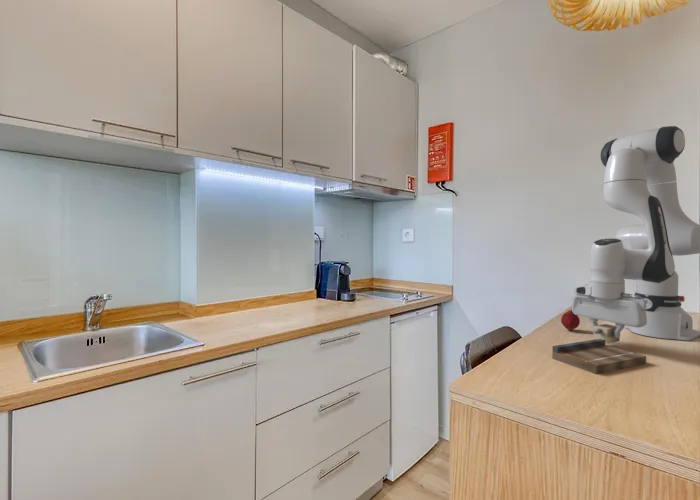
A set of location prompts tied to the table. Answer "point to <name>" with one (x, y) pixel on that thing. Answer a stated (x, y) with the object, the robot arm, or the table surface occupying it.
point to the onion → (570, 320)
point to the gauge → (605, 333)
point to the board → (596, 356)
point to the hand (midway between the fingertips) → (606, 334)
